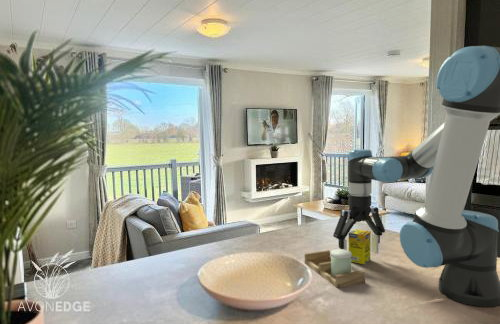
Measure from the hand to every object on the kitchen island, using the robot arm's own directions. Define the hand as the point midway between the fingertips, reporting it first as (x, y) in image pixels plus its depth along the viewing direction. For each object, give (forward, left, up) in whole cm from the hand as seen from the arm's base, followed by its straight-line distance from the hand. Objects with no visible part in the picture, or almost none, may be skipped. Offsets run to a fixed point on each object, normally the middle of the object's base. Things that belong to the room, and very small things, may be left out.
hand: (359, 255), depth 117 cm
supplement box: (0, 0, -3) cm, 3 cm away
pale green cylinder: (-10, +14, -2) cm, 17 cm away
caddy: (-5, +14, -3) cm, 15 cm away
